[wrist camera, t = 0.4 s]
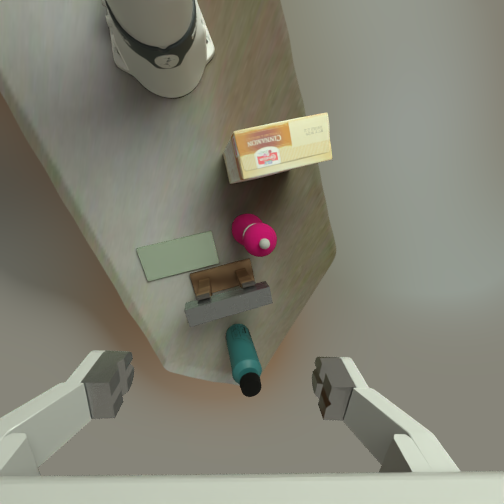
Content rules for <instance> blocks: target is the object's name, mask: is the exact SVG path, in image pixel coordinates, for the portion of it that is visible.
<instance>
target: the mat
mask: <svg viewBox="0 0 504 504" xmlns="http://www.w3.org/2000/svg"><path fill="white" fill-rule="evenodd" d="M136 250H137V252H138V255H139V258H140V261H141V264H142V266H143V269H144V272H145V275H146V277H147V280H148V281H152V280H155V279H159V278H163V277H167V276H171V275H175V274H179V273H183V272H187V271H190V270H194V269H198V268H202V267H206V266H210V265H214V264H218V263H219V259H218V255H217V251H216V248H215V244H214V240H213V236H212V232H211V231H208V232H204V233H200V234H195V235H191V236H187V237H183V238H178V239H174V240H170V241H166V242H161V243H157V244H153V245H149V246H145V247H140V248H137V249H136Z"/></svg>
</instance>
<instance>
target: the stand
mask: <svg viewBox="0 0 504 504" xmlns="http://www.w3.org/2000/svg"><path fill="white" fill-rule="evenodd" d="M190 277H191V281H192V284H193V287H194V291H195V294H196V300H197V301H199V300H202V299H206V298H209V297H210V296H213V295H212V293H214V292H217V291H221V290H224V289H228V288H232V287H235V286H239V285H240V288H242V287H243V288H245V287H249V286H253V285H256V284H255V280H254V275H253V271H252V266H251V261H250V259H249V258H248V259H245V260H241V261H237V262H233V263H229V264H225V265H221V266H218V267H214V268H210V269H206V270H202V271H198V272H194V273H191V274H190Z"/></svg>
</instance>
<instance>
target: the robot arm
mask: <svg viewBox="0 0 504 504" xmlns="http://www.w3.org/2000/svg"><path fill="white" fill-rule="evenodd" d="M101 1H102V4H103V5H104V6H105V7H107V14H108V15H106V21H107V24H108V26H109V29H110V36H111V44H112V51H113V58H114V61H115V64H116V65H117V66H118V67H119V68H120V69H121V70H123V71H125V72H127V73H129V74H131V75H133V76H134V77H135V78H136V79H137V80H138V81H139V82H140V83H141V84H142V85H143V86H144V87H145V88H147V89H148V90H149V91H151V92H153V93H155V94H157V95H159V96H162V97H168V98H176V97H181V96H184V95H186V94H188V93H190V92H191V91H192V90H193V89H194V88H195V87H196V86H197V85H198V83H199V81H200V79H201V77H202V74H203V71H204V68H205V66H206V64H207V63H208V62H209V61H210V60H211V59H212V58H213V56H214V53H215V50H214V45H213V42H212V40H211V37H210V34H209V32H208V29H207V26H206V24H205V21H204V18H203V16H202V13H201V10H200V8H199V5H198V3H197V0H101ZM206 42H207V43H208V44H206ZM118 53H119V54H120V55H119V54H118ZM132 359H133V358H132V353H131V352H124V351H100V350H93V351H92V352H90V353H89V354H88V355H87V356H86V358H85V359H84V360H83V361H82V363H81V364H80V365H79V366H78V367H77V369H76V370H75V371H74V372H73V374H72V375H71V376H70V377H69V378H68V380H67V381H66V382H65V383H60V384H58V385H56V386H54V387H53V388H51V389H49V390H47V391H46V392H44V393H42V394H41V395H39V396H37V397H35V398H34V399H32V400H31V401H29V402H27V403H25V404H23V405H22V406H20V407H18V408H17V409H15V410H13V411H12V412H10V413H8V414H6V415H5V416H3V417H1V418H0V504H504V471H487V472H486V471H483V472H461V471H460V470H459V469H458V467H457V466H456V465H455V463H454V462H453V460H452V459H451V458H450V456H449V455H448V454H447V452H446V451H445V450H444V448H443V447H442V445H441V444H440V443H439V441H438V440H437V438H436V437H435V436H434V434H433V433H431V432H430V431H429V430H428V429H426V428H425V427H423V426H422V425H421V424H419V423H418V422H417V421H416V420H414V419H413V418H412V417H410V416H409V415H407V414H406V413H405V412H403V411H402V410H401V409H399V408H398V407H397V406H396V405H394V404H393V403H391V402H390V401H389V400H387V399H386V398H385V397H383V396H382V395H381V394H379V393H378V392H377V391H375V390H374V389H373V388H369V387H368V385H367V384H366V382H365V380H364V379H363V377H362V375H361V374H360V372H359V370H358V369H357V367H356V365H355V364H354V362H353V360H352V359H351V358H350V357H317V358H316V360H315V366H316V369H315V370H314V371H313V374H312V386H313V390H314V393H315V395H316V396H317V397H318V398H319V403H318V405H319V408H320V411H321V414H322V417H323V420H343V422H344V423H345V424H346V425H347V426H348V428H349V429H350V430H351V431H352V432H353V433H354V434H355V435H356V437H357V438H358V439H359V440H360V441H361V442H362V443H363V445H364V446H365V447H366V448H367V449H368V450H369V451H370V452H371V454H372V455H373V456H374V457H375V458H376V459H377V460H378V462H380V464H381V465H382V466H381V469H380V471H379V473H289V474H288V473H285V474H193V475H191V474H190V475H187V474H186V475H86V476H85V475H84V476H41V475H40V472H39V469H38V468H39V467H40V466H41V465H42V464H43V463H44V462H45V461H46V460H47V459H49V458H50V457H51V456H52V455H53V454H54V453H55V452H56V451H58V450H59V449H60V448H61V447H62V446H63V445H64V444H65V443H66V442H68V441H69V440H70V439H71V438H72V437H73V436H74V435H75V434H77V432H79V431H80V430H81V429H82V428H83V427H84V426H85V425H86V424H88V423H89V422H90V421H91V419H96V418H97V419H100V418H115V417H116V415H117V413H118V411H119V409H120V407H121V405H122V403H123V397H122V396H123V395H124V394H126V393H127V392H128V391H129V389H130V387H131V384H132V381H133V377H134V367H133V366H132V365H131V364H130V362H131V361H132Z"/></svg>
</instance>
